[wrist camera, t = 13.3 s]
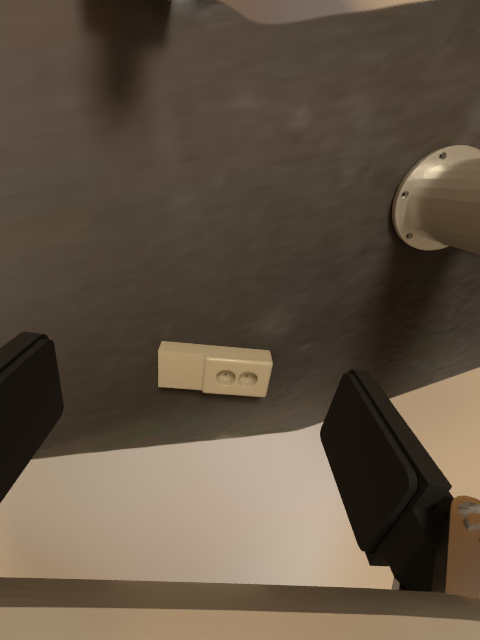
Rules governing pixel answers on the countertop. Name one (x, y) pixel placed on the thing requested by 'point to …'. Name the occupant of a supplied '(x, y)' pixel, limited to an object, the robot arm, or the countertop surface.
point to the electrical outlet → (214, 369)
